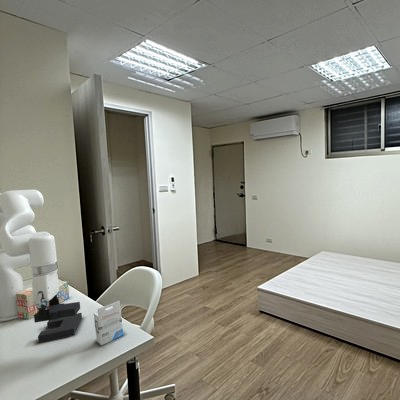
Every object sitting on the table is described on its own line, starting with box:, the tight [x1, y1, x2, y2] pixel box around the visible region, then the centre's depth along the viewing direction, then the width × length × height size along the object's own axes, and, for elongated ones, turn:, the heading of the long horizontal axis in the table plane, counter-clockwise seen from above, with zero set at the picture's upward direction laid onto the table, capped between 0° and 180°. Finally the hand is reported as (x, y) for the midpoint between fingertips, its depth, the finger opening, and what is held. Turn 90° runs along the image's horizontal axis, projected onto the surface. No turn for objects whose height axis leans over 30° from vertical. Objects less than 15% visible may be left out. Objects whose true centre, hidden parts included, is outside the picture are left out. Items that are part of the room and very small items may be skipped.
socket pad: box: [37, 312, 83, 344], centre depth 113 cm, size 12×14×3 cm
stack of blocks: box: [16, 280, 70, 320], centre depth 133 cm, size 21×6×12 cm, turn 168°
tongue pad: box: [33, 301, 81, 324], centre depth 100 cm, size 12×7×3 cm, turn 106°
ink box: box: [93, 300, 124, 346], centre depth 105 cm, size 8×5×15 cm, turn 140°
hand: (50, 314), depth 99 cm, fingers closed on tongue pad, 7 cm apart
